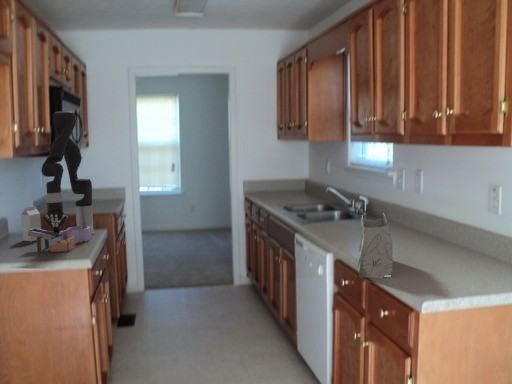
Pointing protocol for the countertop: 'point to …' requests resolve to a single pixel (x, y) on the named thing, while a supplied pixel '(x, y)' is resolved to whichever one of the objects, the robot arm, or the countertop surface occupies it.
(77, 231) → the clip
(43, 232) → the tipping track
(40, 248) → the stand
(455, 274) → the countertop surface
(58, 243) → the cup
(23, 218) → the milk carton
